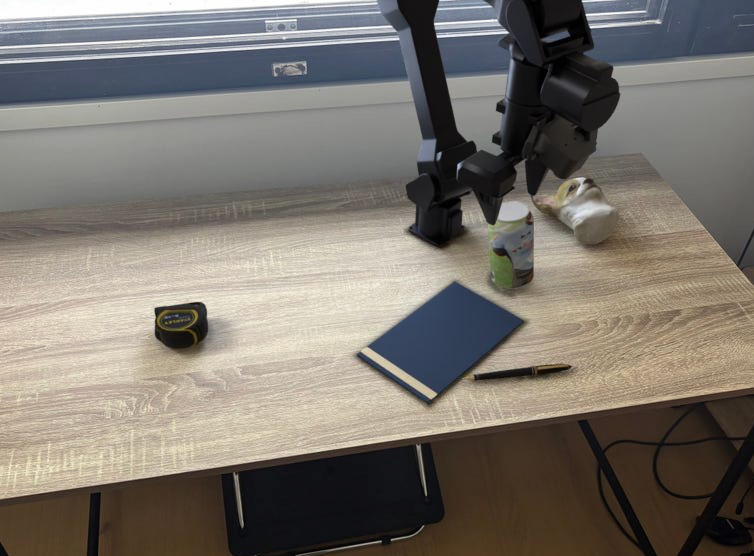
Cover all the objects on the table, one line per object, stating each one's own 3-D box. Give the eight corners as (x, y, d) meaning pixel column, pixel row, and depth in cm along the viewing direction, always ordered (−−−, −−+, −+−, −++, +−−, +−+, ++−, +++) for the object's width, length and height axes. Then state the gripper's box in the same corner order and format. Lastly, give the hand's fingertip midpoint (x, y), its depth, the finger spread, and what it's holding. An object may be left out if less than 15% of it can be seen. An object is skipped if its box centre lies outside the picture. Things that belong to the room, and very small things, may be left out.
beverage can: (531, 297, 102) (545, 226, 93) (478, 290, 103) (487, 220, 94) (533, 269, 106) (546, 199, 98) (482, 263, 107) (491, 193, 99)
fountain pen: (461, 386, 90) (462, 377, 89) (459, 379, 91) (460, 370, 90) (573, 373, 92) (575, 365, 91) (569, 366, 92) (572, 358, 91)
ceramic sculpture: (581, 208, 101) (530, 160, 112) (571, 259, 107) (523, 210, 118) (647, 195, 104) (591, 149, 114) (633, 246, 110) (581, 198, 120)
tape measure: (209, 316, 99) (204, 295, 97) (210, 351, 95) (206, 330, 92) (158, 322, 99) (152, 301, 96) (157, 358, 94) (150, 337, 91)
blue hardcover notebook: (356, 356, 94) (356, 353, 94) (454, 283, 104) (454, 280, 104) (427, 404, 88) (428, 402, 88) (523, 322, 98) (524, 320, 98)
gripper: (543, 149, 76) (522, 267, 87) (632, 89, 85) (603, 202, 96) (459, 115, 81) (449, 230, 92) (551, 62, 91) (532, 172, 102)
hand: (512, 208), depth 95 cm, fingers open, 9 cm apart
